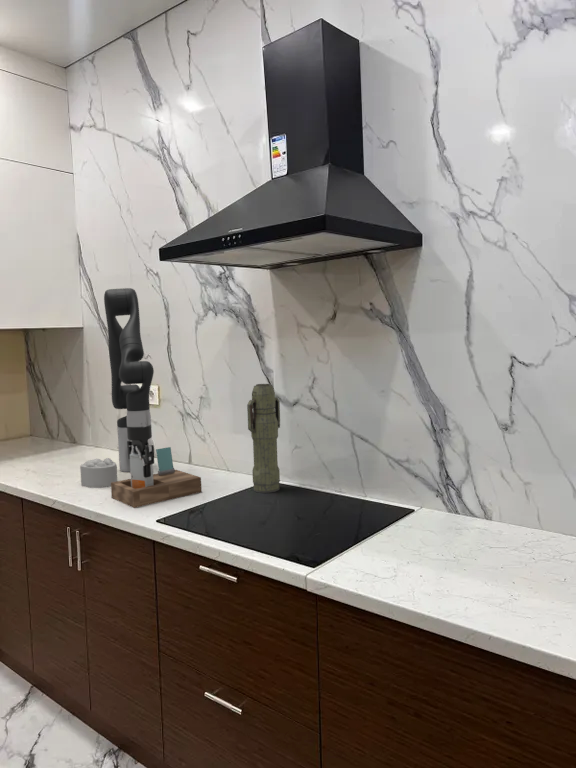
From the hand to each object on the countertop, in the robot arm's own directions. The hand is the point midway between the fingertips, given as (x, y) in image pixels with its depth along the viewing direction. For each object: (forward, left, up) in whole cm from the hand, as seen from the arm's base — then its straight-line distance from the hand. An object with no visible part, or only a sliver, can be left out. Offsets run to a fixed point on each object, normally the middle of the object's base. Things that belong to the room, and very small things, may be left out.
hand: (141, 474), depth 186 cm
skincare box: (0, 0, -5) cm, 5 cm away
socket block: (0, +5, -8) cm, 9 cm away
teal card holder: (-4, +11, +2) cm, 12 cm away
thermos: (+21, +34, -8) cm, 41 cm away
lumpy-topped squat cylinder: (-28, -2, -8) cm, 29 cm away
